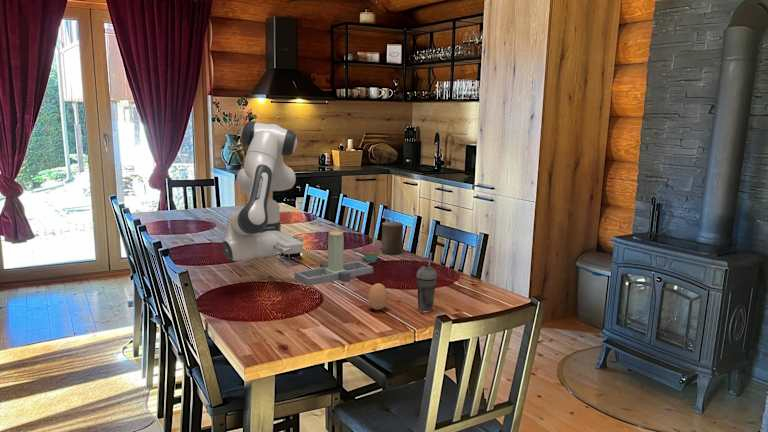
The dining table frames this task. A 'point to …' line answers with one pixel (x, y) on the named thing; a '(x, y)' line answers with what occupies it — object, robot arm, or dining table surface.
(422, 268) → the beverage cup
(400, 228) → the pillar candle
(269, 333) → the dining table surface
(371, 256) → the cupcake
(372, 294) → the egg
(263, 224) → the robot arm
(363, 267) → the grey divided tray
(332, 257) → the sage green tall block
